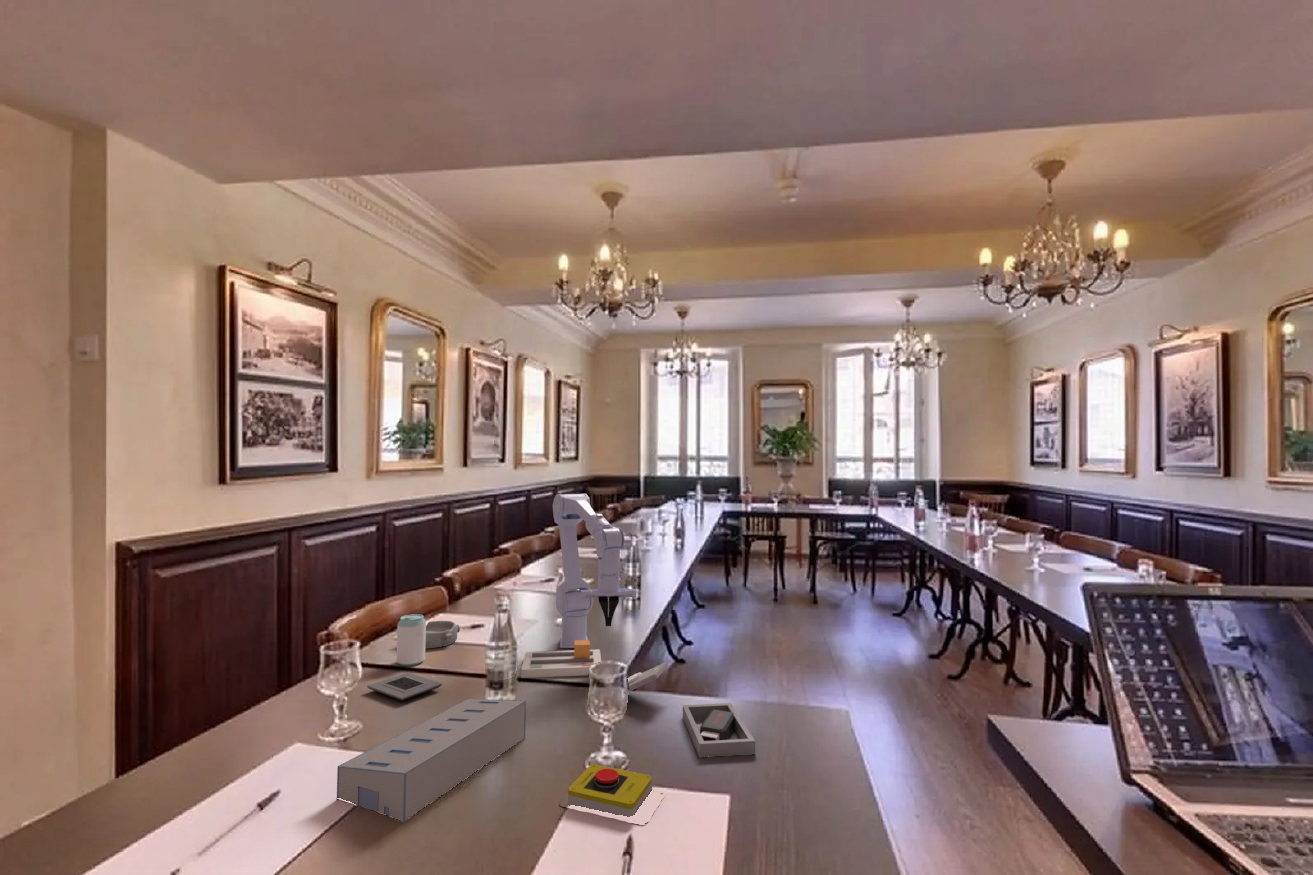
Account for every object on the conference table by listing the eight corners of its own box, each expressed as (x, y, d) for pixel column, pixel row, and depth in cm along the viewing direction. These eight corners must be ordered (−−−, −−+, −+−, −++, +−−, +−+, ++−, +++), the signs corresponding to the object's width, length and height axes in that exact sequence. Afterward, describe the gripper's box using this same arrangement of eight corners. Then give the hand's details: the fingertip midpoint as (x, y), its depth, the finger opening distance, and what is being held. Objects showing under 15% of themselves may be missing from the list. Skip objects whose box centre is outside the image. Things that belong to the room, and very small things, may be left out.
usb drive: (736, 723, 124) (736, 710, 125) (721, 749, 113) (721, 734, 113) (711, 719, 126) (712, 706, 126) (695, 744, 115) (695, 730, 115)
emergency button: (584, 754, 104) (666, 770, 98) (583, 780, 103) (666, 797, 98) (557, 780, 95) (646, 800, 90) (556, 809, 95) (645, 830, 90)
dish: (397, 649, 172) (397, 631, 172) (423, 635, 186) (423, 618, 186) (444, 652, 170) (444, 634, 170) (467, 638, 183) (467, 621, 184)
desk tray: (682, 717, 128) (682, 705, 128) (730, 715, 129) (730, 703, 129) (699, 757, 110) (699, 744, 111) (755, 754, 112) (755, 740, 112)
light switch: (612, 682, 143) (664, 658, 140) (623, 705, 142) (676, 682, 139) (598, 695, 135) (653, 670, 132) (610, 720, 134) (665, 696, 130)
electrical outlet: (442, 692, 141) (442, 682, 141) (401, 707, 132) (401, 696, 132) (407, 681, 148) (407, 671, 148) (366, 694, 140) (367, 684, 140)
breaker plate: (525, 659, 164) (525, 648, 164) (599, 656, 166) (599, 646, 167) (521, 677, 150) (521, 666, 150) (601, 674, 153) (602, 663, 153)
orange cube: (574, 655, 161) (574, 640, 161) (589, 655, 161) (589, 640, 161) (574, 660, 157) (574, 645, 157) (589, 660, 157) (590, 644, 157)
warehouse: (467, 726, 123) (467, 689, 124) (525, 740, 118) (525, 701, 118) (336, 802, 96) (337, 754, 96) (404, 825, 90) (405, 773, 90)
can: (418, 666, 157) (419, 620, 158) (391, 666, 157) (392, 620, 158) (429, 658, 164) (430, 613, 165) (403, 657, 164) (404, 613, 165)
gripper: (581, 576, 156) (580, 630, 155) (637, 576, 158) (637, 628, 157) (581, 571, 163) (580, 622, 162) (634, 571, 165) (634, 621, 164)
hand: (608, 625), depth 160 cm, fingers closed
